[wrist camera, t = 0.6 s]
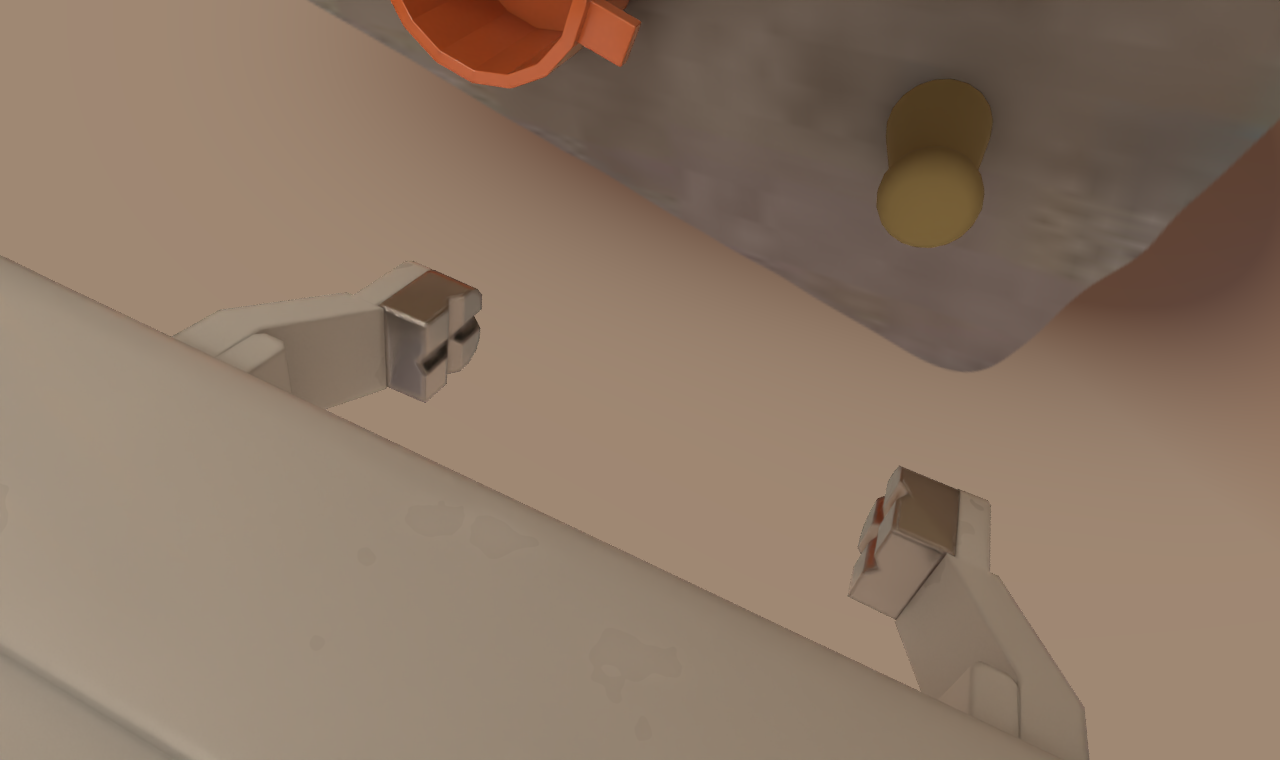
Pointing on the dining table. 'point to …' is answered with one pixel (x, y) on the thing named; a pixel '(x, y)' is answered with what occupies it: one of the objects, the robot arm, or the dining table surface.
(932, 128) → the cork
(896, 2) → the dining table surface
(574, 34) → the pot
